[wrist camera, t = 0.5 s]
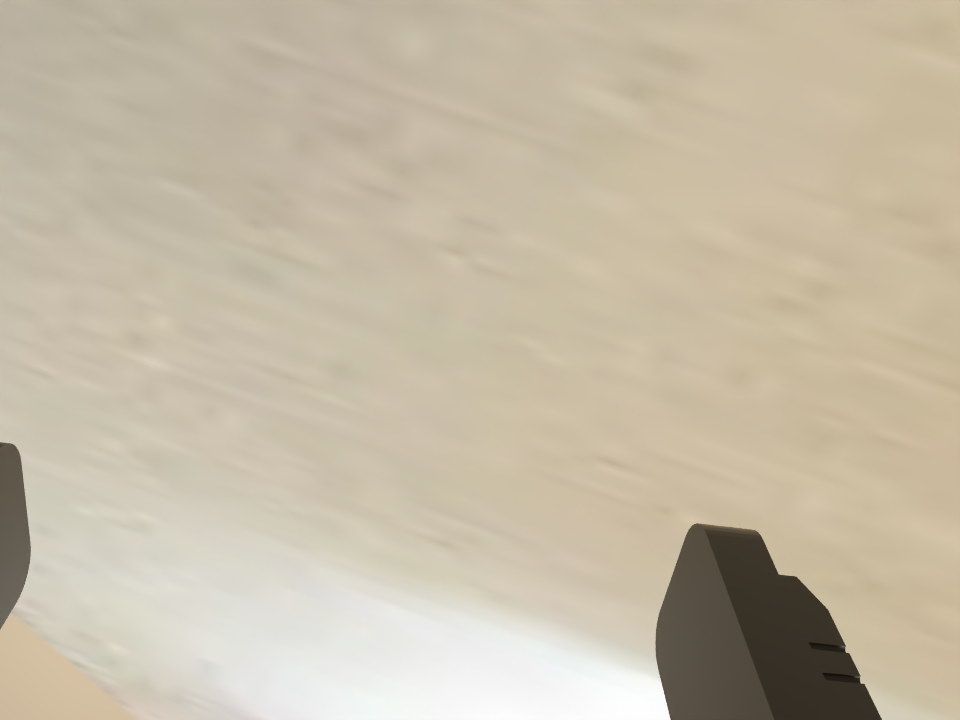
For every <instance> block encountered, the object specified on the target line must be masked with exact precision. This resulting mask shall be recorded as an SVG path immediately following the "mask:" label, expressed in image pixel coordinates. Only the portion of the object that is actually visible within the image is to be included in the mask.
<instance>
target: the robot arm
mask: <svg viewBox="0 0 960 720" xmlns="http://www.w3.org/2000/svg"><path fill="white" fill-rule="evenodd" d="M30 552H31V547H30V536H29V527H28V518H27V509H26V500H25V491H24V482H23V473H22V465H21V458H20V454H19V451H18V449H17V447H16V446H15V445H13V444H10V443H2V442H0V629H1V627H2V625H3V624H4V622H5V621H6V619H7V617H8V616H9V614H10V612H11V611H12V609H13V607H14V606H15V604H16V602H17V600H18V599H19V597H20V594H21V592H22V590H23V587H24V584H25V581H26V577H27V573H28V569H29V563H30ZM845 647H846V646H845V644H844V642H843V639H842V637H841V635H840V633H839V631H838V629H837V627H836V625H835V623H834V621H833V619H832V617H831V615H830V613H829V611H828V609H827V608H826V607H825V606H824V605H823V604H822V603H821V602H820V601H819V600H818V599H817V598H816V597H815V596H814V595H813V594H812V593H811V592H810V591H809V589H808V588H807V587H806V586H805V585H804V584H803V583H802V582H801V581H800V580H799V579H798V578H797V577H795V576H785V575H779V574H778V572H777V570H776V568H775V565H774V563H773V561H772V559H771V557H770V554H769V552H768V550H767V548H766V545H765V543H764V541H763V539H762V537H761V535H760V534H759V533H758V532H757V531H755V530H750V529H741V528H732V527H723V526H715V525H706V524H694V525H693V526H692V527H691V528H690V529H689V531H688V533H687V535H686V537H685V540H684V543H683V546H682V549H681V552H680V555H679V558H678V561H677V563H676V566H675V569H674V572H673V575H672V578H671V581H670V584H669V587H668V590H667V592H666V595H665V598H664V601H663V604H662V607H661V610H660V613H659V617H658V622H657V628H656V658H657V665H658V669H659V674H660V678H661V682H662V686H663V690H664V694H665V698H666V702H667V706H668V710H669V714H670V718H671V720H882V719H881V717H880V715H879V713H878V711H877V709H876V707H875V705H874V703H873V701H872V699H871V697H870V694H869V692H868V690H867V688H866V686H865V684H861V683H860V674H859V672H858V670H857V668H856V666H855V664H854V662H853V660H852V658H851V656H850V654H849V653H846V652H845Z"/></svg>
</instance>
